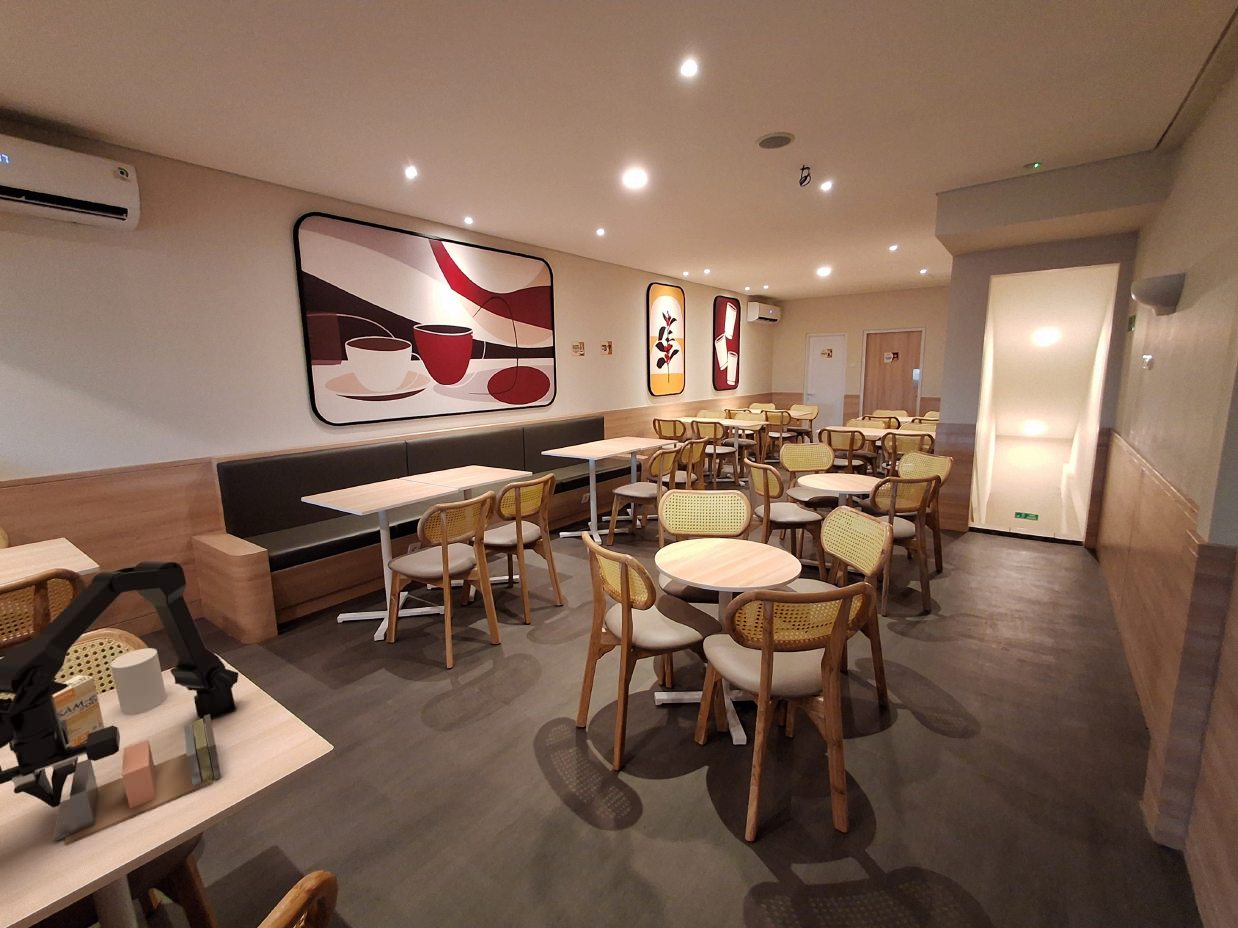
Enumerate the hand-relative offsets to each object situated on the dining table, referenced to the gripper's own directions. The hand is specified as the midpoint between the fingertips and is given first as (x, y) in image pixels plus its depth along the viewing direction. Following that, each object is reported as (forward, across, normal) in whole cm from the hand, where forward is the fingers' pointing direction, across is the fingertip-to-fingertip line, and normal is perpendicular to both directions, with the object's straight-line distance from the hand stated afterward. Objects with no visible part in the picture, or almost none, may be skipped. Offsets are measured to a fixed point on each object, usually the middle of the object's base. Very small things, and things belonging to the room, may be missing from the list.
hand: (56, 804), depth 95 cm
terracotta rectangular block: (+3, -11, 0) cm, 12 cm away
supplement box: (+4, 0, -28) cm, 28 cm away
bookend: (+3, -2, 0) cm, 4 cm away
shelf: (+4, -12, 0) cm, 12 cm away
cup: (+4, -11, -35) cm, 37 cm away
